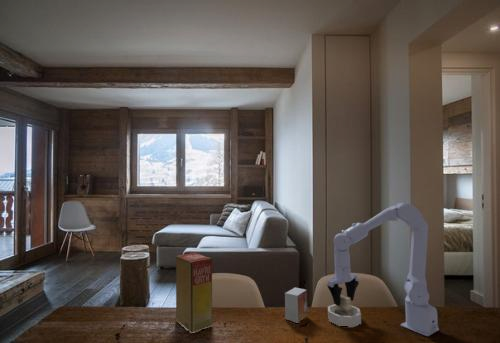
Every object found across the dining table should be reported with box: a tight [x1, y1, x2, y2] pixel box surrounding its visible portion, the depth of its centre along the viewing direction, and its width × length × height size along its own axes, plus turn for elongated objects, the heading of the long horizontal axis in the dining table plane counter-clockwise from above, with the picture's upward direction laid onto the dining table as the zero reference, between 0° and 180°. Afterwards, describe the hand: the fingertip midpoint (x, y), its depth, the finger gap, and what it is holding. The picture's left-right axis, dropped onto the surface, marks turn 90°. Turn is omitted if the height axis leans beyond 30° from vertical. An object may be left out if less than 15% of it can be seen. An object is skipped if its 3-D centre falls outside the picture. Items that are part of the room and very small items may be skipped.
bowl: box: [327, 303, 362, 328], centre depth 114 cm, size 12×12×4 cm
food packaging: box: [175, 252, 213, 332], centre depth 113 cm, size 13×9×25 cm
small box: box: [284, 287, 308, 324], centre depth 115 cm, size 8×6×10 cm
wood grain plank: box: [336, 294, 352, 316], centre depth 114 cm, size 5×2×8 cm, turn 33°
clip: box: [335, 309, 353, 316], centre depth 114 cm, size 4×6×3 cm
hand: (343, 302), depth 114 cm, fingers open, 7 cm apart
